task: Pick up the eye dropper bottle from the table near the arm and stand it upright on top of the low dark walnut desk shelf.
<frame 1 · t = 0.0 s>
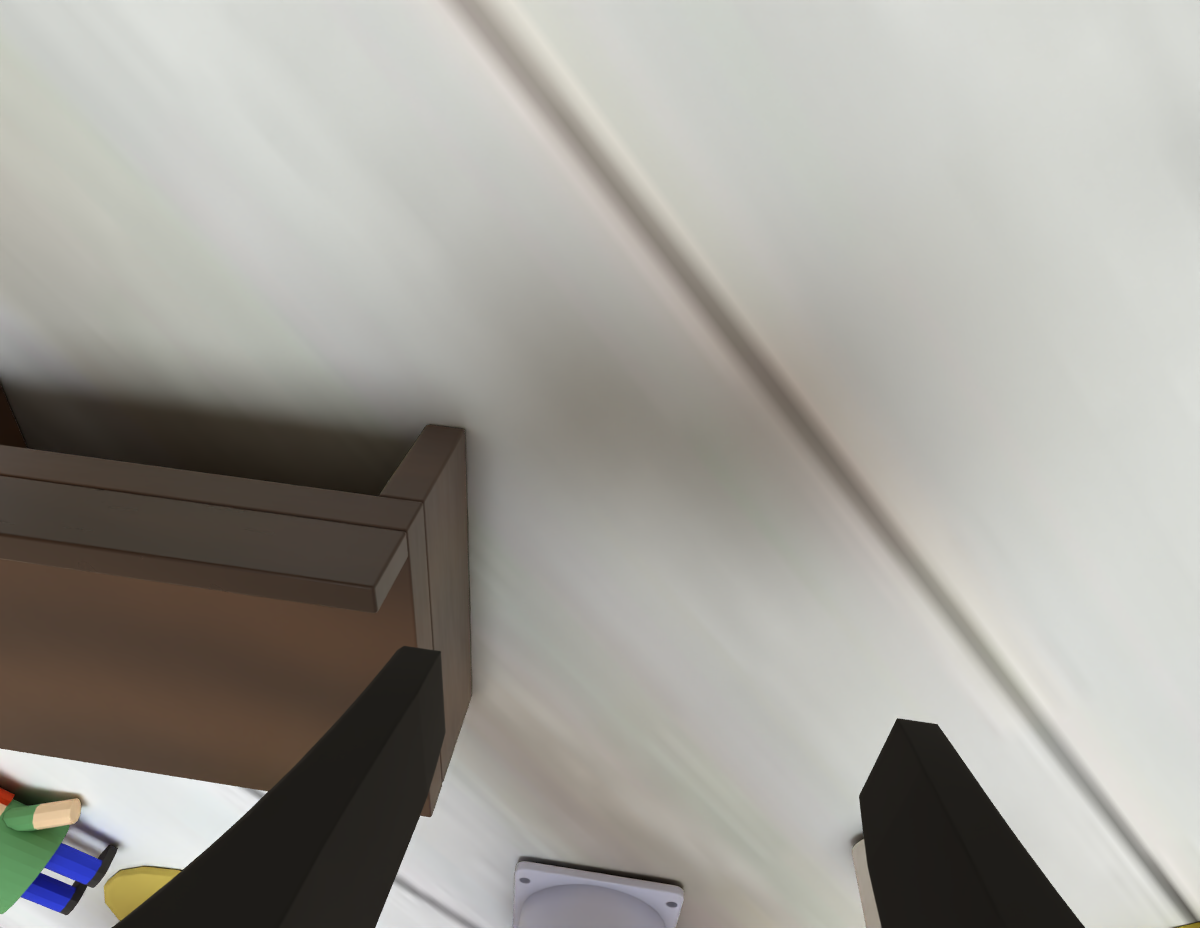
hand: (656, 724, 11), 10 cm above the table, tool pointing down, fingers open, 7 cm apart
eye dropper bottle: (914, 850, 29), on the table
candle: (194, 910, 40), on the table
toy figurine: (17, 790, 35), on the table
shelf: (245, 548, 24), on the table
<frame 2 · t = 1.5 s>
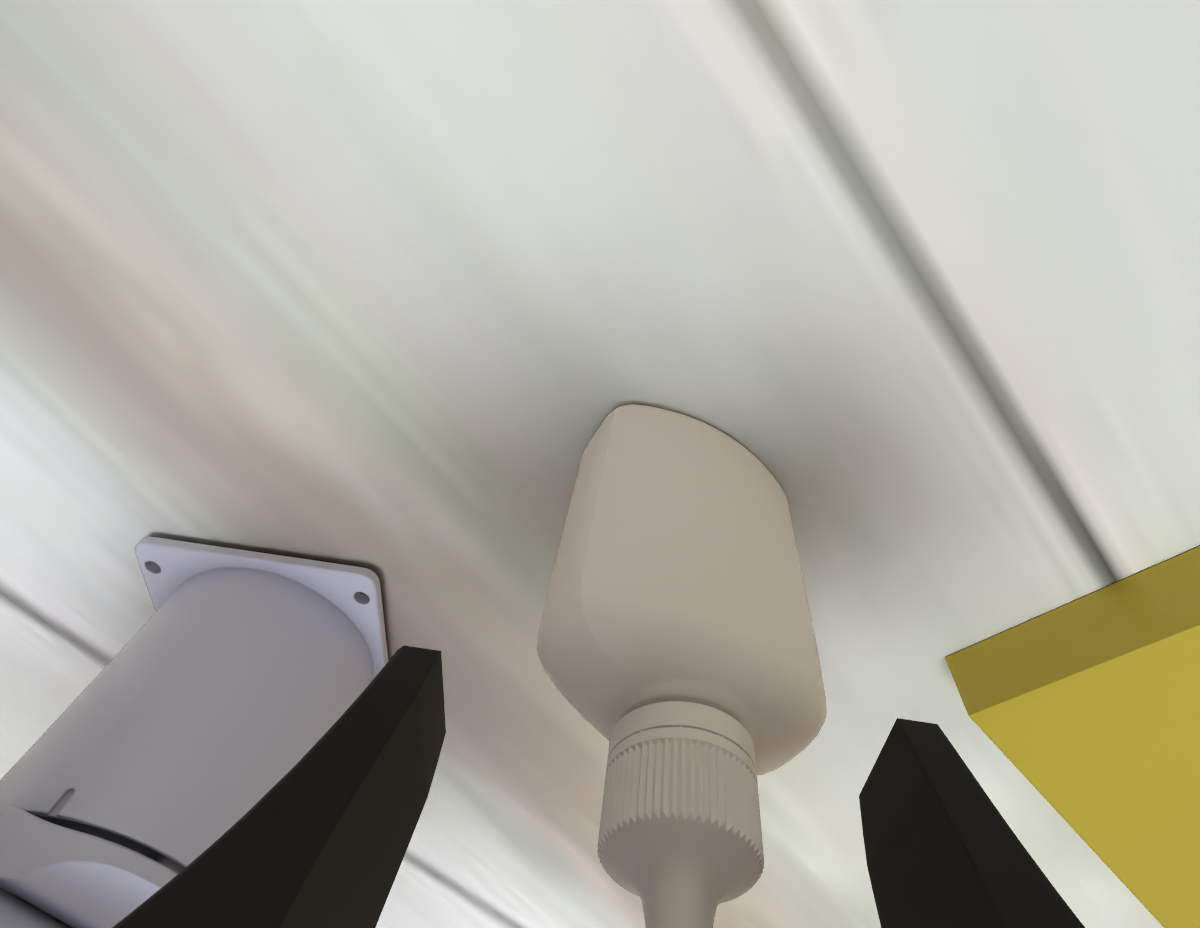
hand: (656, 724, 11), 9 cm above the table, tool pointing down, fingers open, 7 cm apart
eye dropper bottle: (685, 469, 19), on the table
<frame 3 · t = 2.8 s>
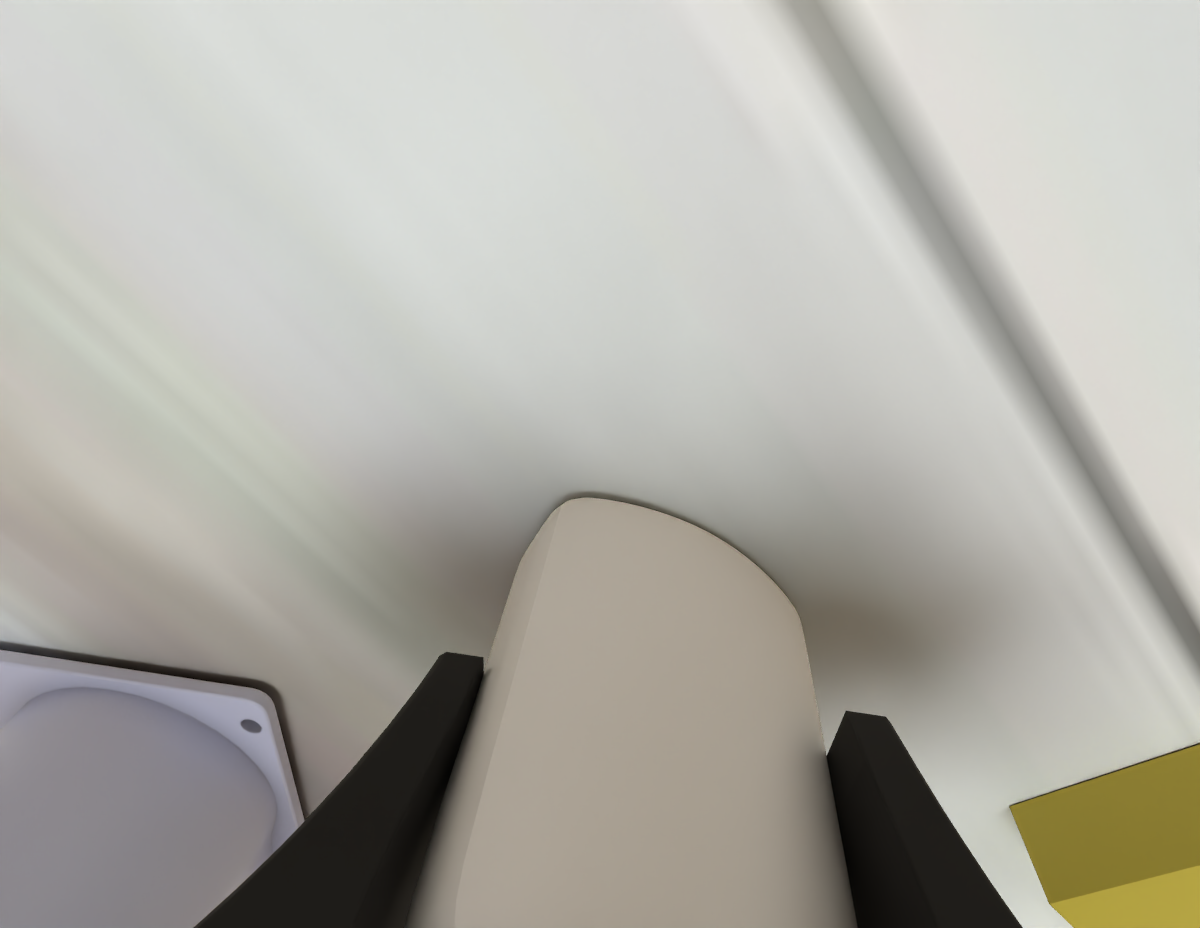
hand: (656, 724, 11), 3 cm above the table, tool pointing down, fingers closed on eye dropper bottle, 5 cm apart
eye dropper bottle: (662, 576, 14), on the table, touching gripper
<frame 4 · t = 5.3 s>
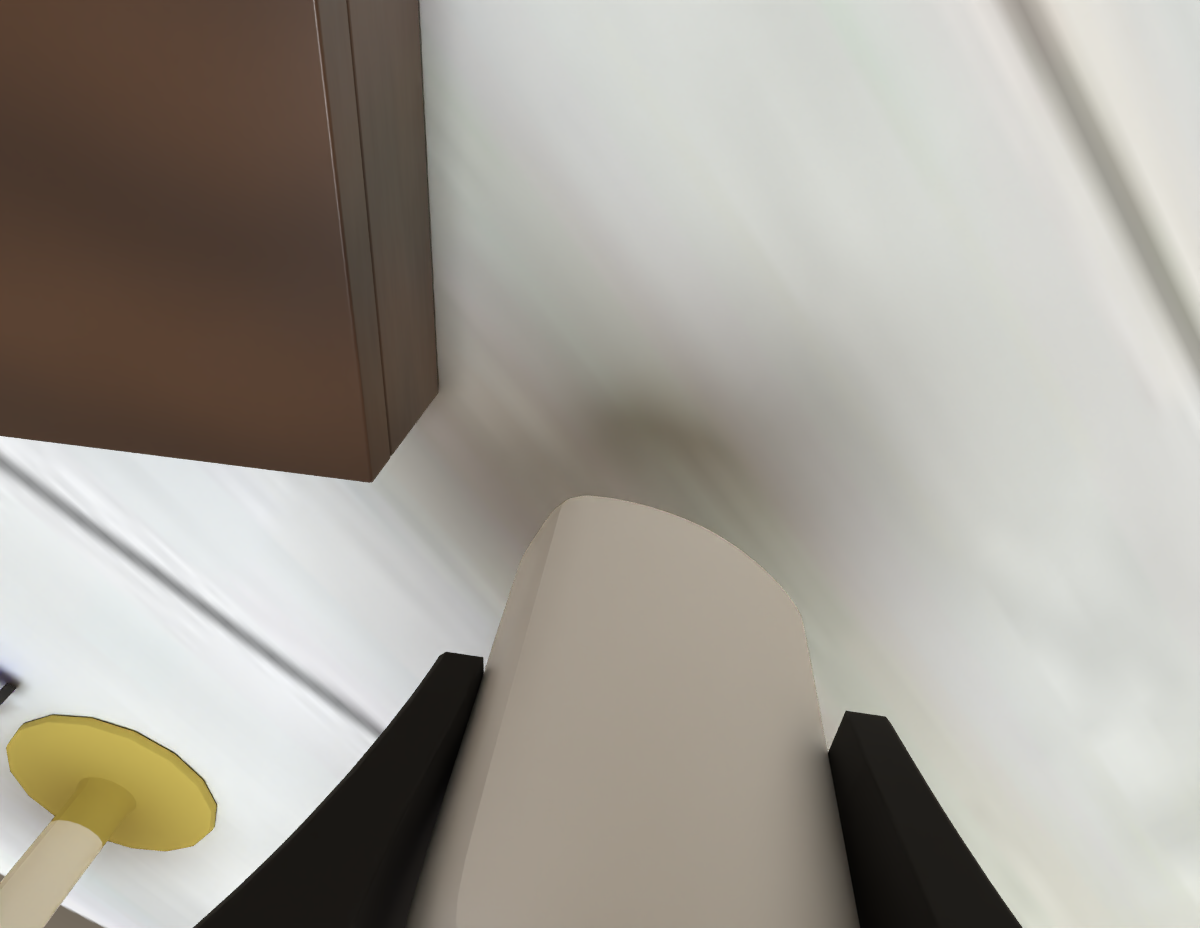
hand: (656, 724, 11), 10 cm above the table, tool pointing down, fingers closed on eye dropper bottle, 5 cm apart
eye dropper bottle: (663, 574, 14), point 7 cm above the table, touching gripper
candle: (118, 781, 33), on the table
shelf: (122, 144, 18), on the table
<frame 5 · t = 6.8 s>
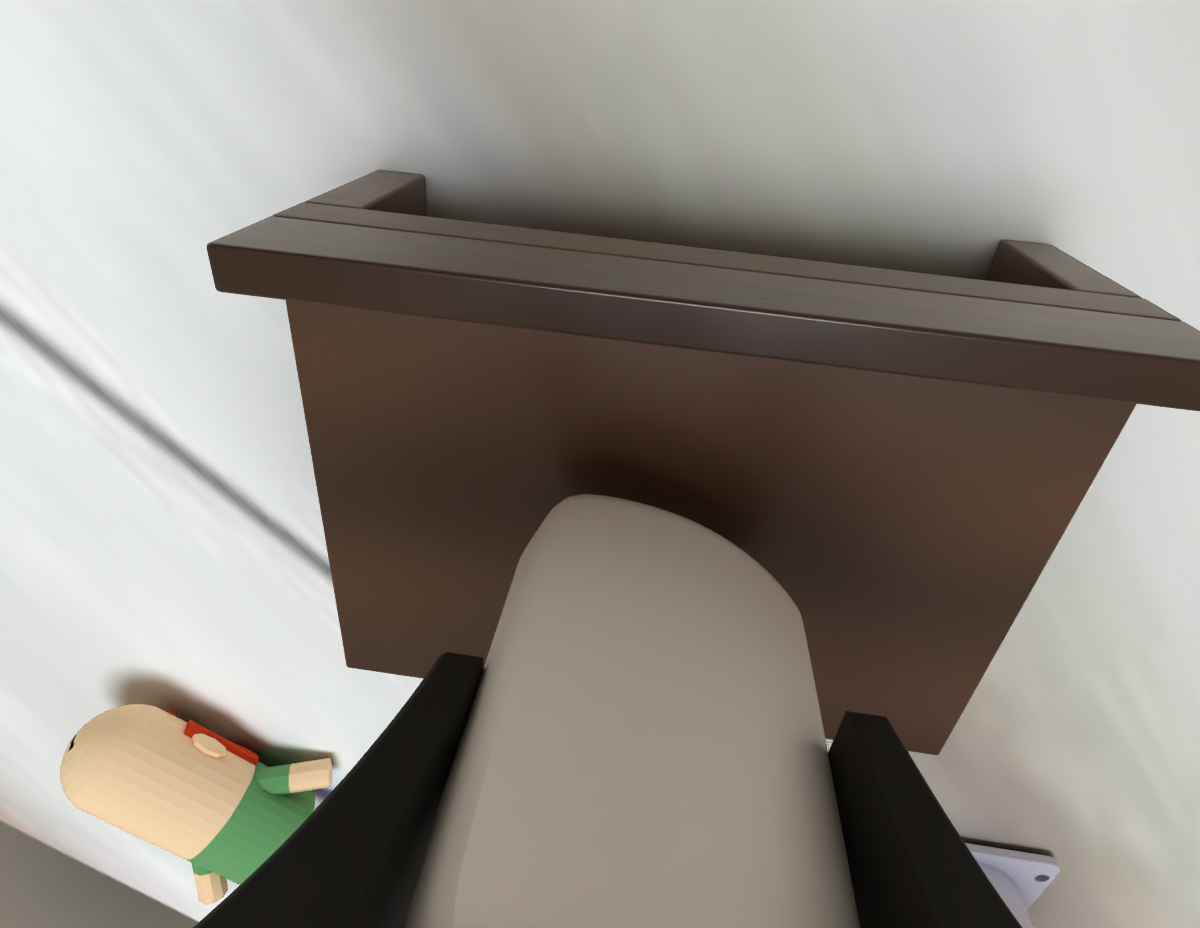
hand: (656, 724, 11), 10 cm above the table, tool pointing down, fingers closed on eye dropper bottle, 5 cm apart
eye dropper bottle: (662, 573, 14), point 6 cm above the table, touching gripper
toy figurine: (254, 750, 31), on the table
shelf: (671, 427, 19), on the table
when the fingers open (8 cm above the table, at t = 7.9 s): eye dropper bottle stays where it is, resting on shelf.
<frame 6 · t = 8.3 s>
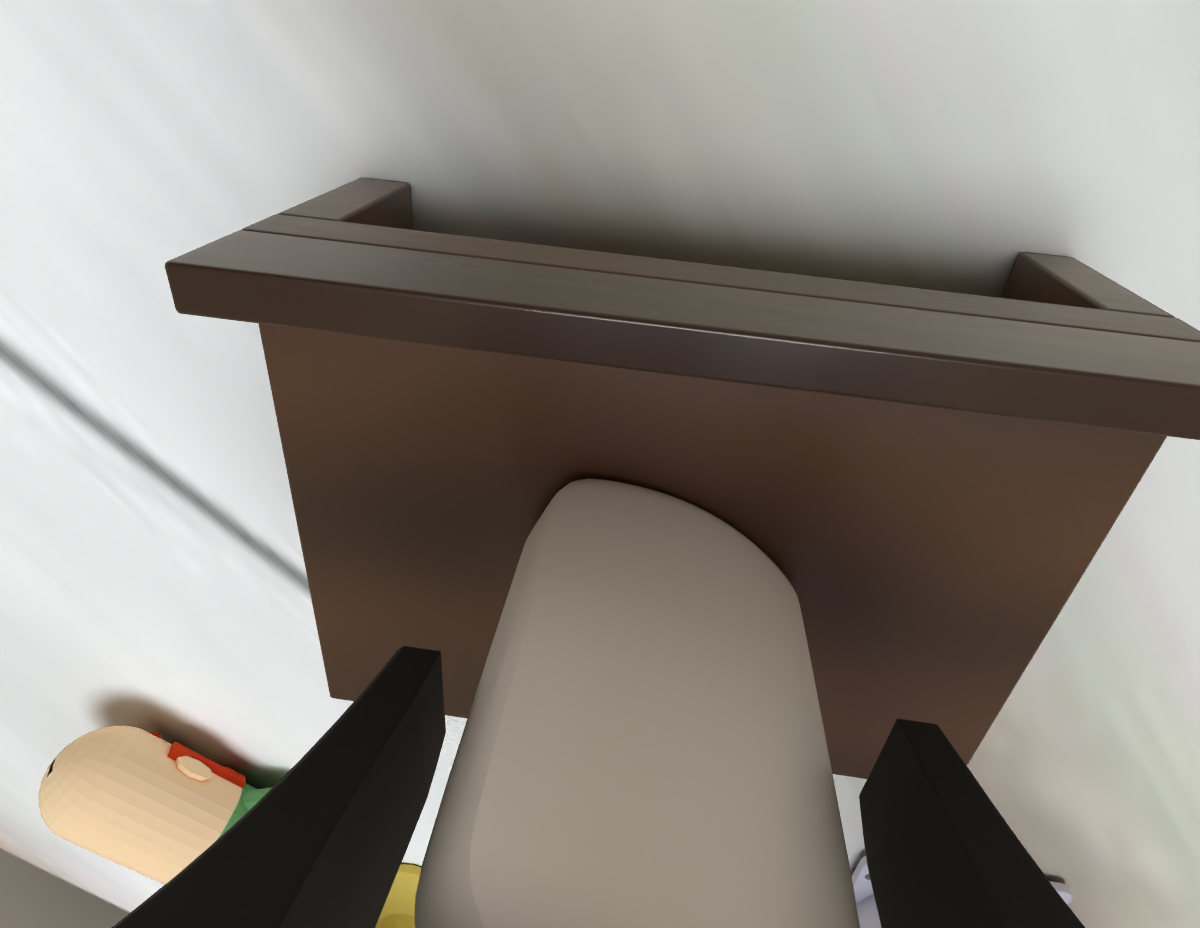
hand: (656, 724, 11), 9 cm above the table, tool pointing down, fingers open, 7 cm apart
eye dropper bottle: (663, 557, 14), point 5 cm above the table, touching shelf
candle: (413, 911, 35), on the table
toy figurine: (241, 771, 30), on the table
shelf: (670, 445, 19), on the table
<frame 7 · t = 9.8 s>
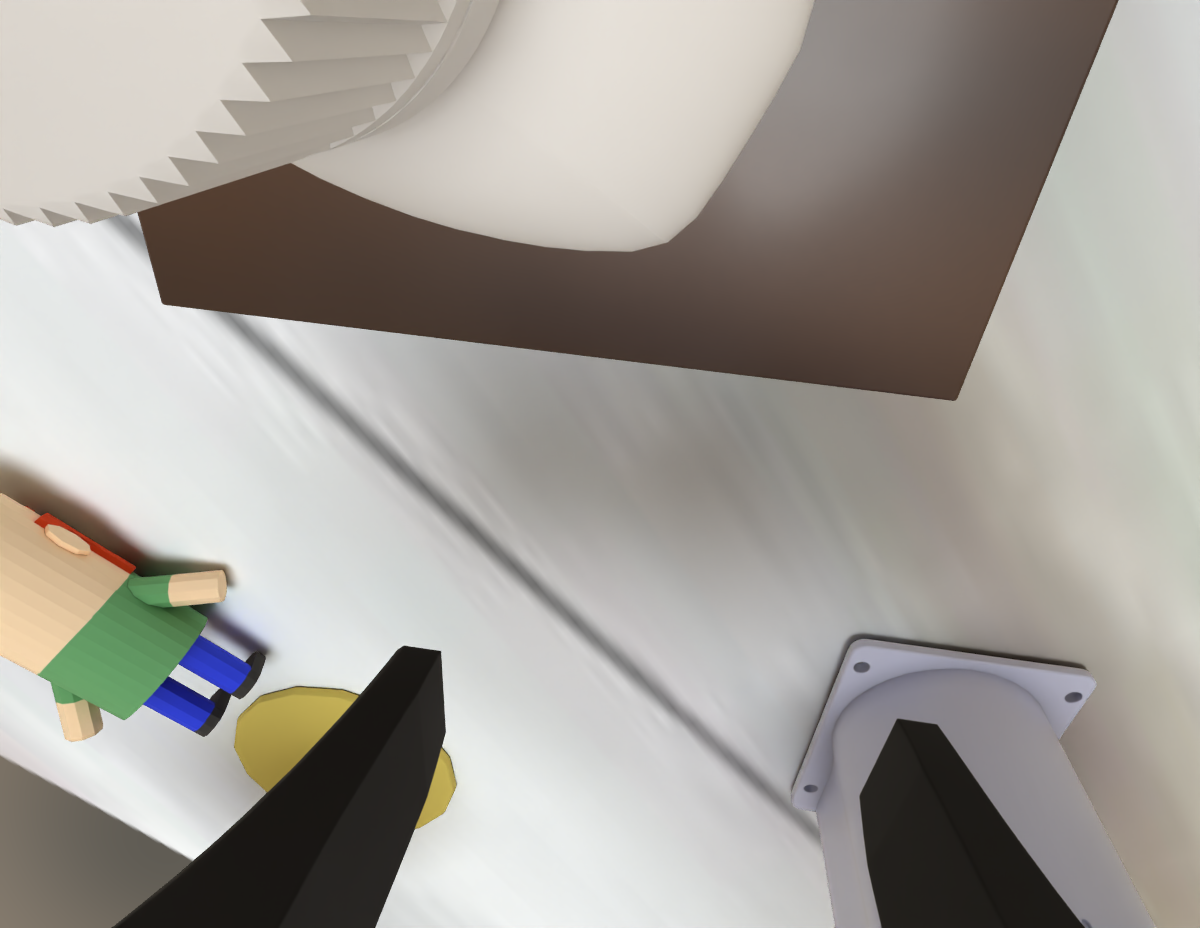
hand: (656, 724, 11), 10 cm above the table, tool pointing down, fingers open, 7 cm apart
candle: (348, 758, 31), on the table
toy figurine: (136, 568, 26), on the table
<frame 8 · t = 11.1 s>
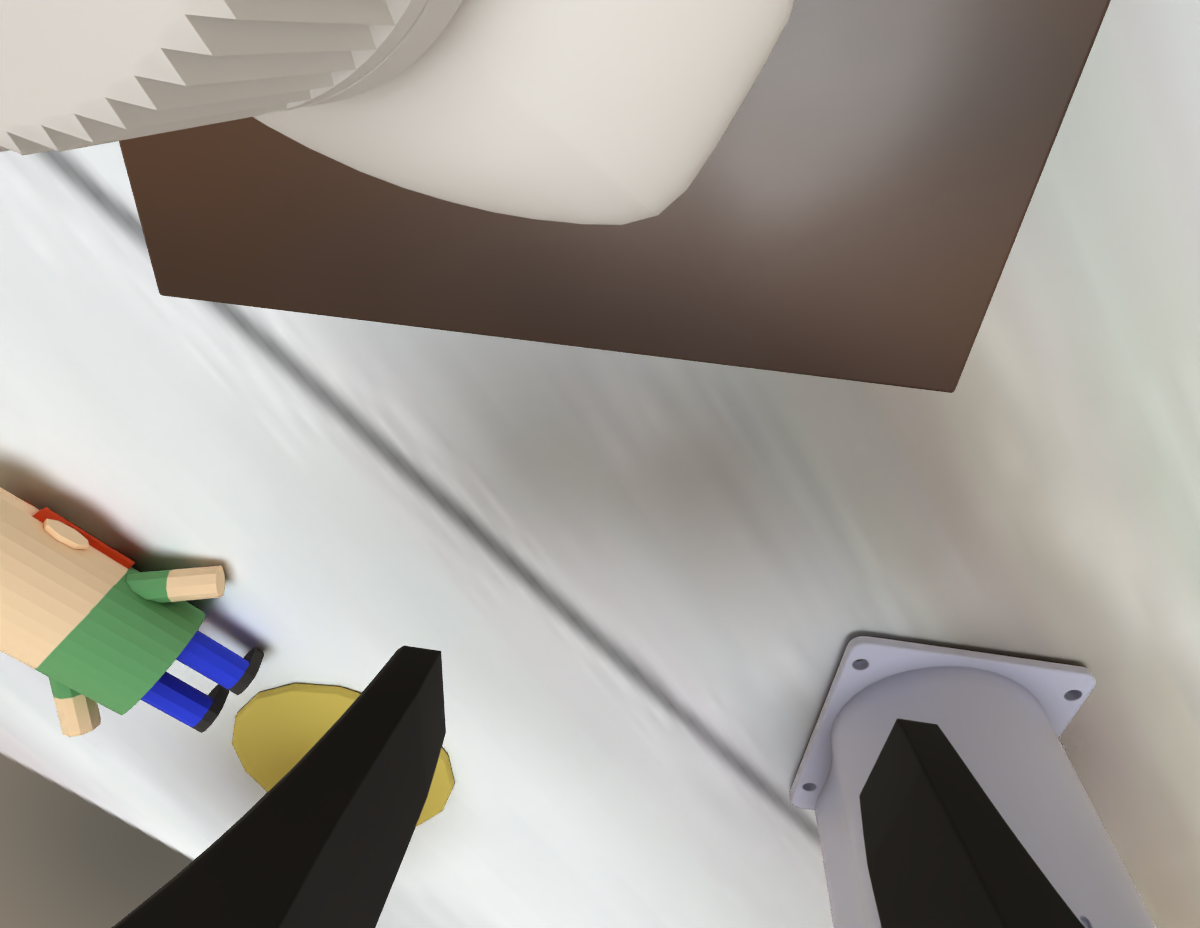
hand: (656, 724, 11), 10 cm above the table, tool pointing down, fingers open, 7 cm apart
candle: (346, 756, 31), on the table
toy figurine: (135, 563, 26), on the table
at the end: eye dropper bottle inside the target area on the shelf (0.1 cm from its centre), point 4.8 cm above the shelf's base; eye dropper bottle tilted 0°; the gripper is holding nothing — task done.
